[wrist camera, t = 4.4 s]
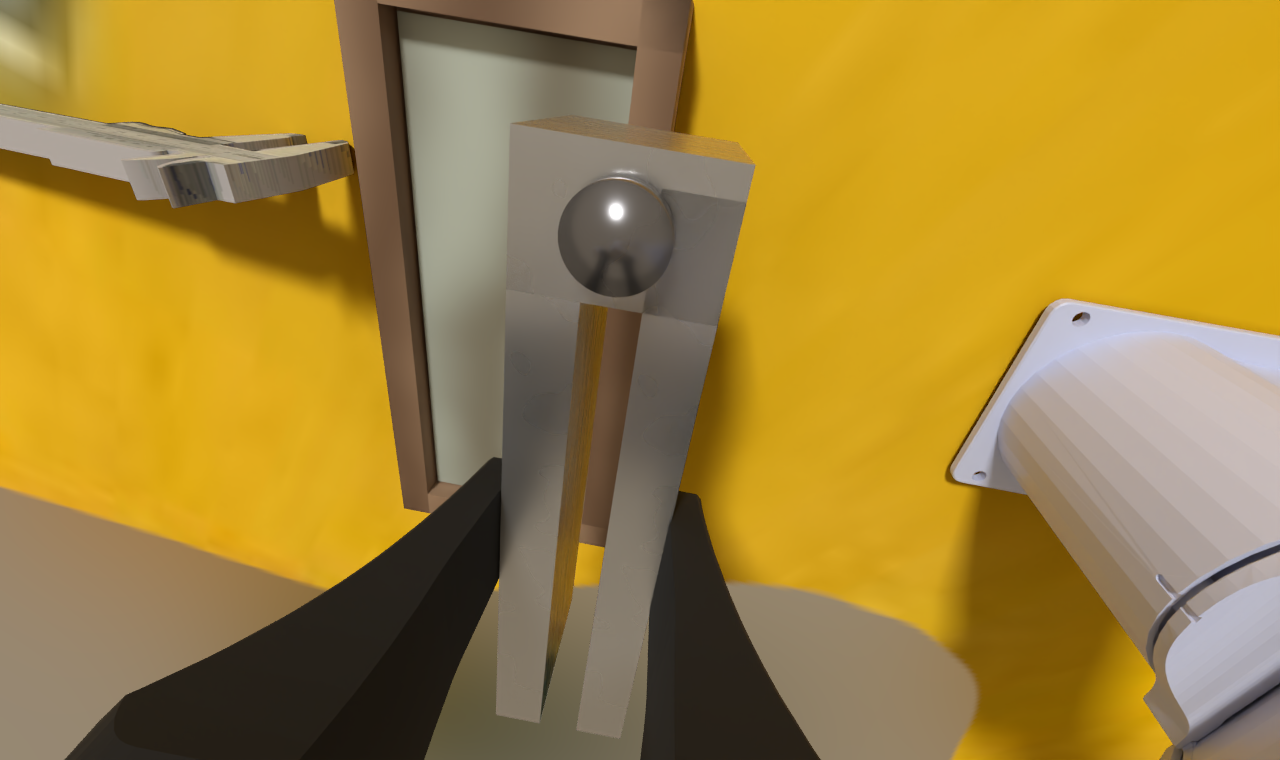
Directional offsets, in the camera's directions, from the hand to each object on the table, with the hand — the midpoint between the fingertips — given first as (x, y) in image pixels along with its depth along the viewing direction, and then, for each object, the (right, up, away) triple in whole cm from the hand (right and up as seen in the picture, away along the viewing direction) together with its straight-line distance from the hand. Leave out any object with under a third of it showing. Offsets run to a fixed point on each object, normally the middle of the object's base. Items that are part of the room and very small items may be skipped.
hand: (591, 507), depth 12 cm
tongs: (0, +2, +2) cm, 3 cm away
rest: (-3, +6, +8) cm, 11 cm away
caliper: (-19, +12, +7) cm, 23 cm away
